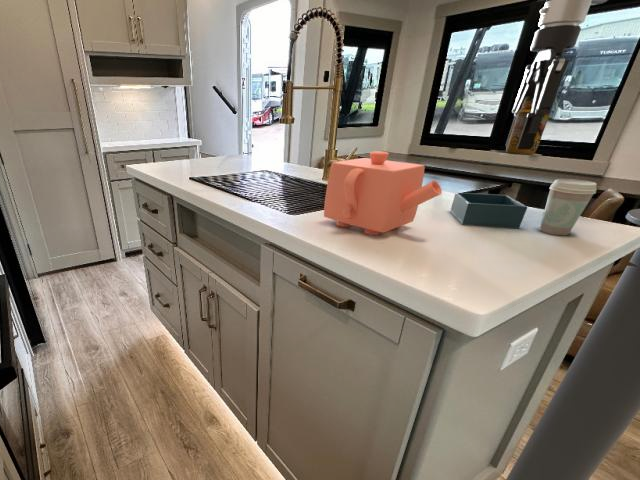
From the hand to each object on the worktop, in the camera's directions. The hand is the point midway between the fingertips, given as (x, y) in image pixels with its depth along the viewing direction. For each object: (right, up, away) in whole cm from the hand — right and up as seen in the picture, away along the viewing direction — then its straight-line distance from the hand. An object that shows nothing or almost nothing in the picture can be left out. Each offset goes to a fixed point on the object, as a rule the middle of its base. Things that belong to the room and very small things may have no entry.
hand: (517, 147), depth 85 cm
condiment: (0, -1, +1) cm, 2 cm away
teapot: (-31, -18, +6) cm, 36 cm away
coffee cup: (+12, -20, +4) cm, 23 cm away
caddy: (0, -14, +13) cm, 19 cm away
